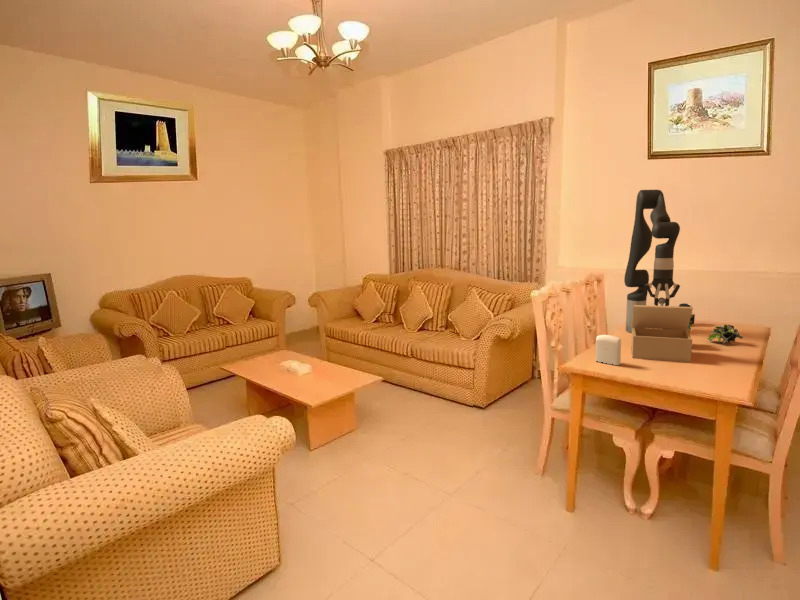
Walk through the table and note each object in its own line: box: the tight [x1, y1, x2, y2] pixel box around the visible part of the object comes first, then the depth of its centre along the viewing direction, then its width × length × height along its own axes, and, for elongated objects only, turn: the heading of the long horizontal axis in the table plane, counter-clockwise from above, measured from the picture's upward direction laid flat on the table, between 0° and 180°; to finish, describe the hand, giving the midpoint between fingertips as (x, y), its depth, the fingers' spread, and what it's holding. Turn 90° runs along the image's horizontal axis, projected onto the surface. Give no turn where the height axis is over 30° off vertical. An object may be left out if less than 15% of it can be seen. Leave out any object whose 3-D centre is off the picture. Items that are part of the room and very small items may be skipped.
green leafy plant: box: [706, 323, 744, 346], centre depth 215 cm, size 11×11×12 cm
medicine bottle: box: [678, 303, 696, 328], centre depth 251 cm, size 7×7×12 cm
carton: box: [630, 328, 693, 363], centre depth 203 cm, size 16×22×10 cm
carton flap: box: [632, 297, 694, 330], centre depth 205 cm, size 16×22×6 cm
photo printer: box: [595, 334, 622, 366], centre depth 195 cm, size 10×4×12 cm, turn 45°
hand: (661, 306), depth 202 cm, fingers closed on carton flap, 3 cm apart
